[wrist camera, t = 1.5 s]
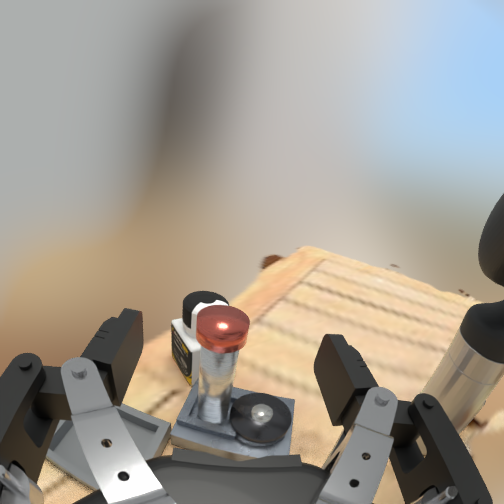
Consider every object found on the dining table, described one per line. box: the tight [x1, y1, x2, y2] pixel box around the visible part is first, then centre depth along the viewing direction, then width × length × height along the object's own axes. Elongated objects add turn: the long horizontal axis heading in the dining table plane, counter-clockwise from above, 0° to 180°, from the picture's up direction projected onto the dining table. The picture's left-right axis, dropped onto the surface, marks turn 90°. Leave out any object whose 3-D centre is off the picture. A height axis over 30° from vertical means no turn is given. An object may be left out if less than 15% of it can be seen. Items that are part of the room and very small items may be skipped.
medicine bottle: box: [171, 291, 229, 386], centre depth 37 cm, size 7×7×12 cm
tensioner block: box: [170, 378, 295, 461], centre depth 28 cm, size 13×10×5 cm
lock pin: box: [196, 305, 250, 424], centre depth 26 cm, size 5×5×14 cm
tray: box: [45, 403, 171, 491], centre depth 21 cm, size 12×12×2 cm
